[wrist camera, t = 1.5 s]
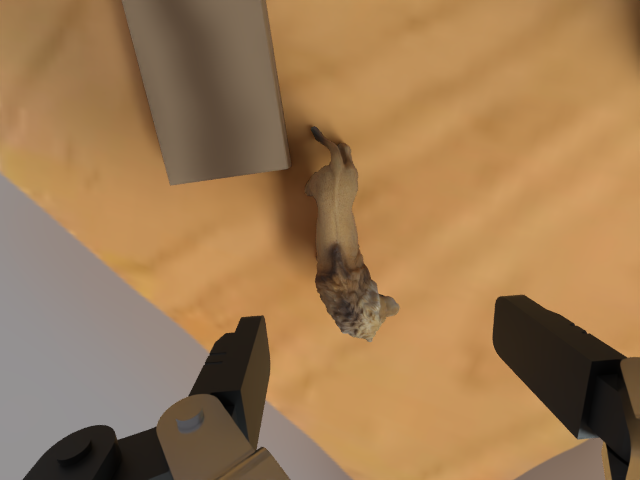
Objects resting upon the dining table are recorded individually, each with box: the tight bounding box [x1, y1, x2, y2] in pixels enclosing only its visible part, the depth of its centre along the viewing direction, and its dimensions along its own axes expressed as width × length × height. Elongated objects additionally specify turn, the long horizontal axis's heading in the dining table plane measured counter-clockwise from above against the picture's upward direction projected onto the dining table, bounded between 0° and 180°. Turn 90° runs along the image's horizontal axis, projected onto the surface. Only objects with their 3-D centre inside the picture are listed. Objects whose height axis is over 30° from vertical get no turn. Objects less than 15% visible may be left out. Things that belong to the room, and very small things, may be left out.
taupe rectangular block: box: [122, 0, 292, 185], centre depth 22 cm, size 8×14×5 cm, turn 8°
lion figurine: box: [304, 126, 399, 342], centre depth 22 cm, size 15×5×9 cm, turn 15°
